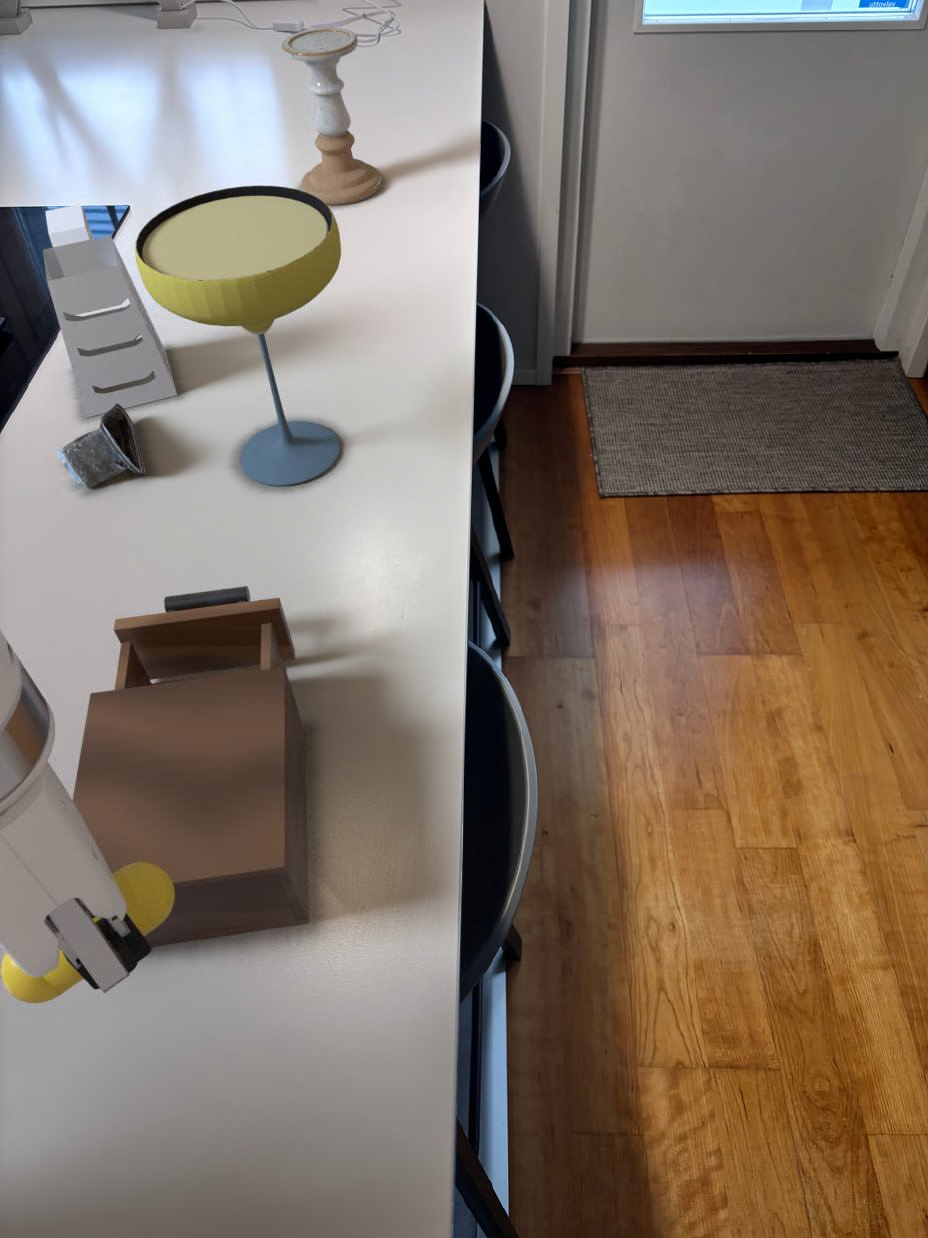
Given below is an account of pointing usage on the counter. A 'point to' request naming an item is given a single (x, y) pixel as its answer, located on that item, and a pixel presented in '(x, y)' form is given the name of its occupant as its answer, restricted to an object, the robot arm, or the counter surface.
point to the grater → (101, 317)
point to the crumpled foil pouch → (104, 450)
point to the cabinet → (203, 798)
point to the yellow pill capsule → (146, 907)
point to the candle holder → (331, 118)
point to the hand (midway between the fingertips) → (103, 934)
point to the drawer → (202, 637)
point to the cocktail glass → (249, 292)
